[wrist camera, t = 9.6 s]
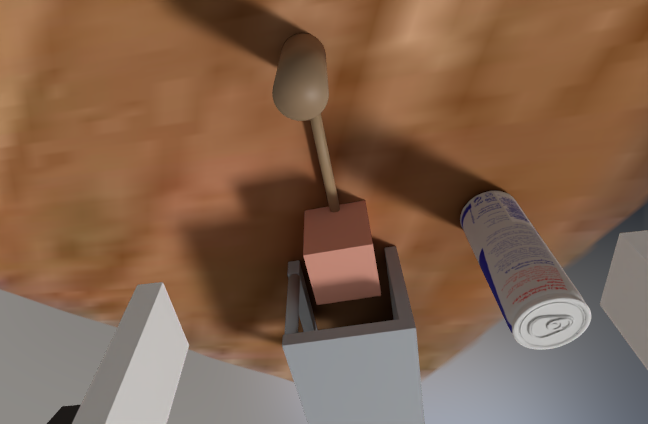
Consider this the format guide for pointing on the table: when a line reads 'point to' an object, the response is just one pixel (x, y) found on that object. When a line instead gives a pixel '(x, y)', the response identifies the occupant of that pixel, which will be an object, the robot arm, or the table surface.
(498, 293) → the beverage can
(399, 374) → the box
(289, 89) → the block
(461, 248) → the table surface
